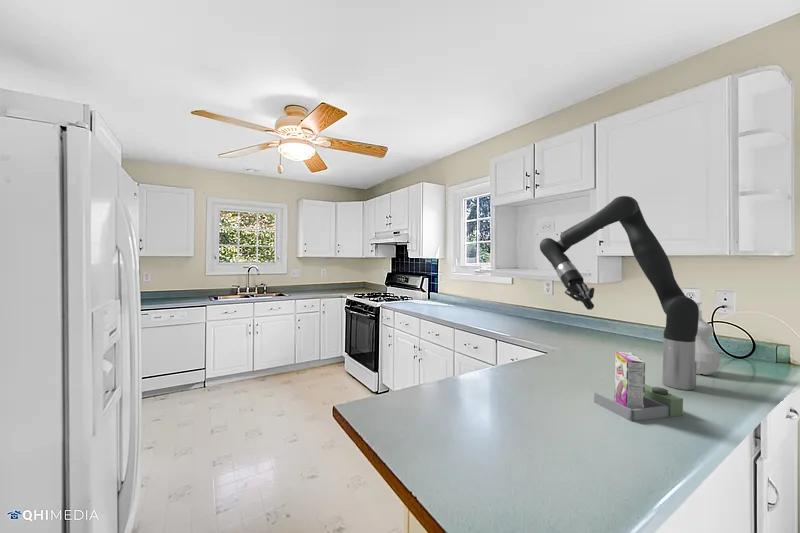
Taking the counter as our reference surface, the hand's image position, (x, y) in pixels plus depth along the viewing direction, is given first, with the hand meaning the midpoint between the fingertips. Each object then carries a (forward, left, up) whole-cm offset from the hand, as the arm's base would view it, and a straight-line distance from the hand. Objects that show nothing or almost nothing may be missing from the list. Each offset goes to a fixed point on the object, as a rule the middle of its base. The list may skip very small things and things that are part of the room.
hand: (591, 308), depth 134 cm
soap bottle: (-52, 0, -28) cm, 59 cm away
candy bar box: (+8, +25, -28) cm, 38 cm away
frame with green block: (+5, +25, -28) cm, 38 cm away
